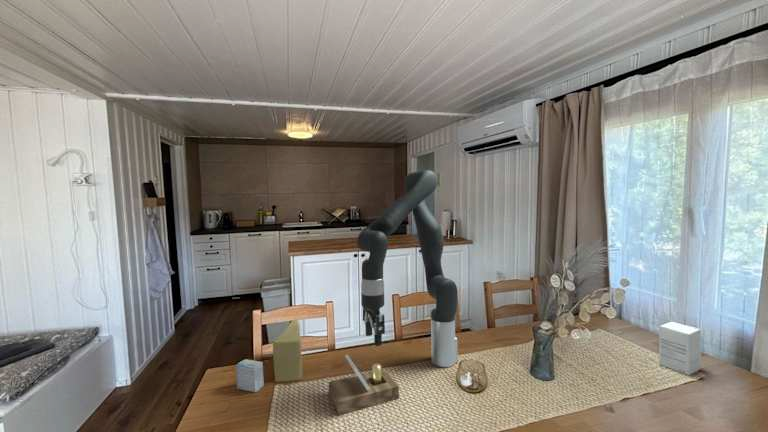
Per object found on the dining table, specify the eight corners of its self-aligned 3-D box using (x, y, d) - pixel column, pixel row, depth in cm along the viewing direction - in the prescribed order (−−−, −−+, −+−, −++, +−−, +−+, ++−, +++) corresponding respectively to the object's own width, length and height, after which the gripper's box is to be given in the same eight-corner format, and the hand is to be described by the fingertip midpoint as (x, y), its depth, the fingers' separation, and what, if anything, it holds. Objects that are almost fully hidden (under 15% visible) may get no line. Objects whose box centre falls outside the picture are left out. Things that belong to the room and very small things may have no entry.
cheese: (285, 353, 134) (284, 319, 134) (309, 352, 136) (307, 317, 135) (273, 383, 112) (272, 341, 112) (301, 380, 114) (300, 339, 113)
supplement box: (670, 358, 123) (670, 320, 123) (701, 369, 115) (701, 328, 114) (657, 364, 119) (658, 325, 119) (688, 376, 111) (689, 333, 111)
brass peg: (379, 388, 107) (379, 362, 107) (383, 393, 105) (382, 366, 104) (371, 390, 106) (370, 364, 106) (374, 395, 104) (374, 368, 103)
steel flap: (358, 375, 108) (360, 373, 108) (368, 391, 99) (370, 389, 99) (344, 355, 106) (347, 353, 106) (353, 370, 97) (356, 367, 97)
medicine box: (264, 386, 111) (263, 361, 110) (255, 393, 107) (254, 368, 106) (246, 382, 113) (245, 358, 113) (236, 389, 109) (235, 364, 109)
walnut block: (384, 379, 113) (384, 368, 113) (398, 398, 102) (398, 386, 102) (328, 393, 105) (328, 381, 105) (338, 415, 94) (337, 402, 94)
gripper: (392, 295, 99) (392, 347, 99) (375, 285, 112) (376, 330, 113) (369, 298, 96) (370, 351, 97) (355, 287, 109) (355, 334, 110)
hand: (373, 340), depth 105 cm, fingers open, 8 cm apart
